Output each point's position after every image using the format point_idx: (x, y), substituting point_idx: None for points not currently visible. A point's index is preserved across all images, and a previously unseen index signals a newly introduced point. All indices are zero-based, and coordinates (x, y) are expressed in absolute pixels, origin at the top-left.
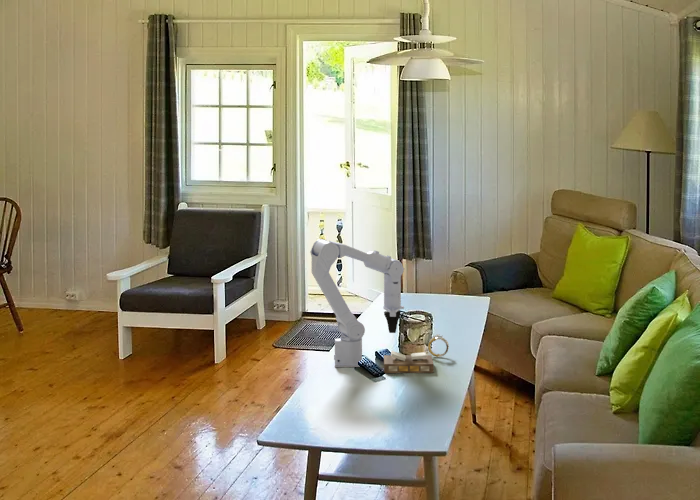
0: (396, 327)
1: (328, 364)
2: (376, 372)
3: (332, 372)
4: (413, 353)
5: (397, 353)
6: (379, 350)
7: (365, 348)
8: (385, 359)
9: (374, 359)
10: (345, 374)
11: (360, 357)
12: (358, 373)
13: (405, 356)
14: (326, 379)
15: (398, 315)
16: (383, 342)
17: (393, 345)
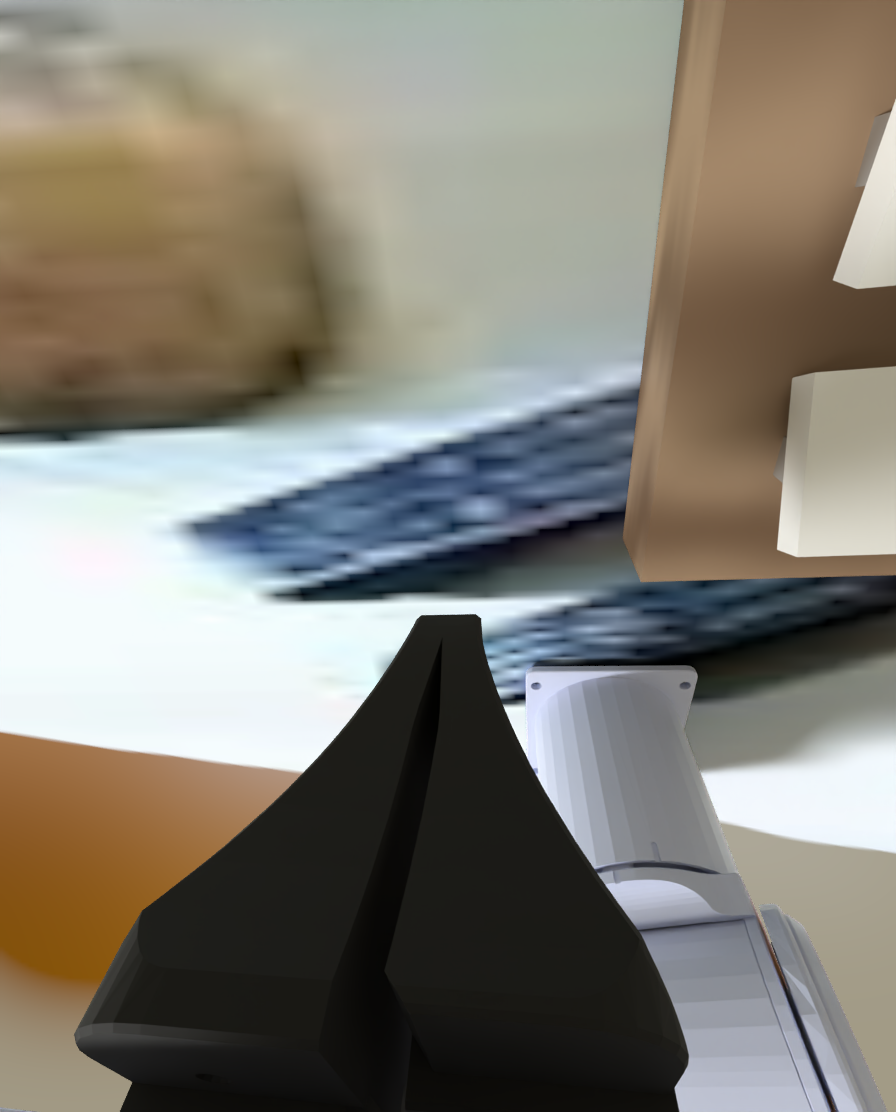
0: (487, 669)
1: None
2: (851, 582)
3: (762, 786)
4: (880, 245)
5: (847, 483)
6: (249, 576)
7: (232, 655)
8: (792, 567)
9: (492, 602)
10: (827, 738)
11: (662, 723)
12: (832, 681)
13: (868, 368)
14: (893, 805)
15: (672, 1019)
16: (26, 556)
17: (64, 481)
